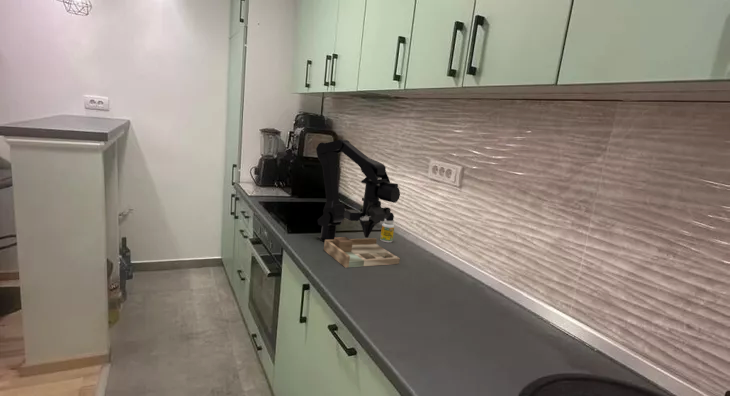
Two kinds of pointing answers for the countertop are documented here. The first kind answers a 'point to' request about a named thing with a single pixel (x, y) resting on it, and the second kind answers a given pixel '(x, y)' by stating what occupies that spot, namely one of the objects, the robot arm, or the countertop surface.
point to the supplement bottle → (387, 231)
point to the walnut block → (343, 243)
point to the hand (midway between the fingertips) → (366, 237)
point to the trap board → (361, 253)
